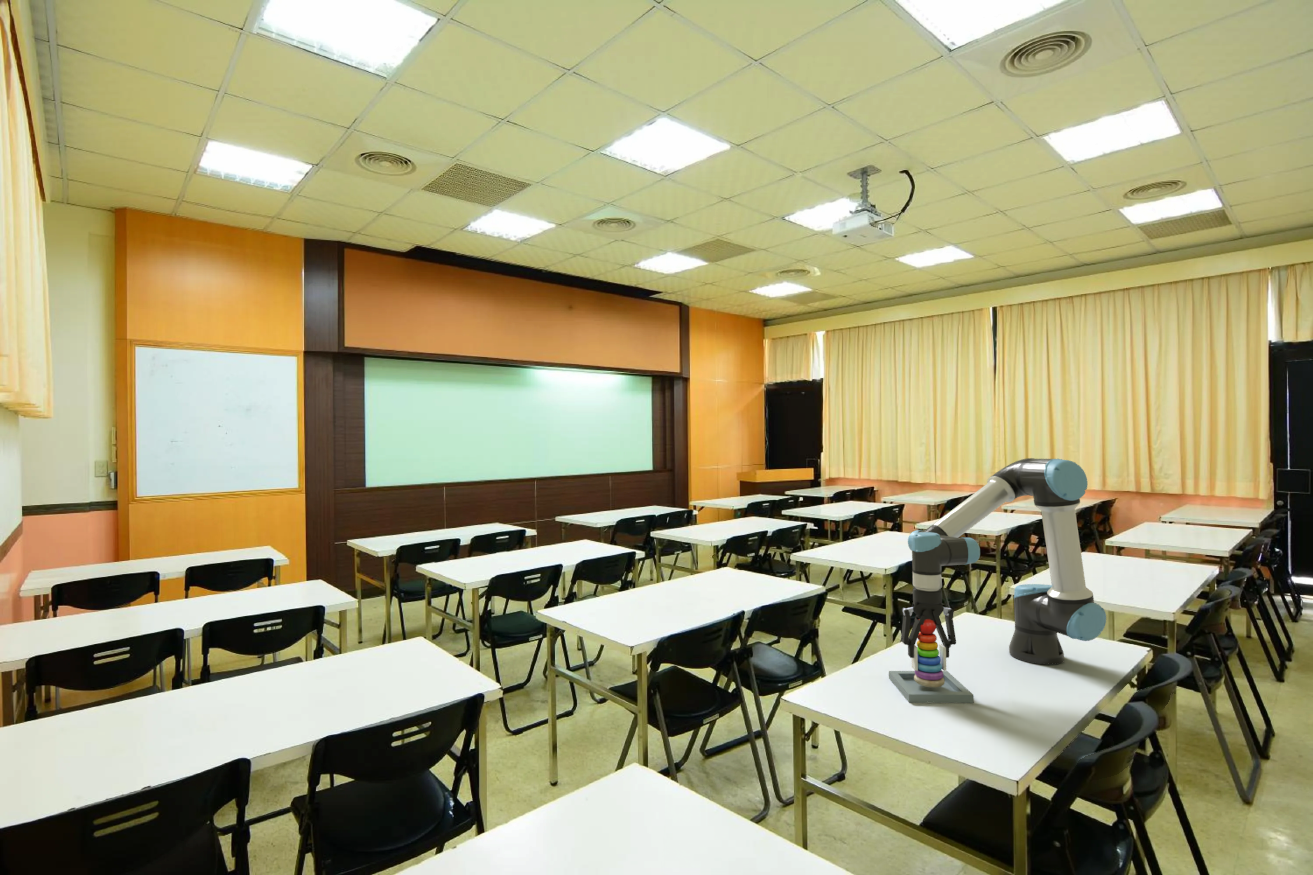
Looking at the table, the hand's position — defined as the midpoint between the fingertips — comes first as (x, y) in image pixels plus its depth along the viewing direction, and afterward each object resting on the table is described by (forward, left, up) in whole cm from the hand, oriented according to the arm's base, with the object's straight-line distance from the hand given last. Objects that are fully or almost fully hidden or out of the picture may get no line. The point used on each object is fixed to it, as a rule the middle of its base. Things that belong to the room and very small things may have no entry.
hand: (928, 668), depth 175 cm
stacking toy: (0, 0, -4) cm, 4 cm away
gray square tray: (0, 0, -6) cm, 6 cm away
